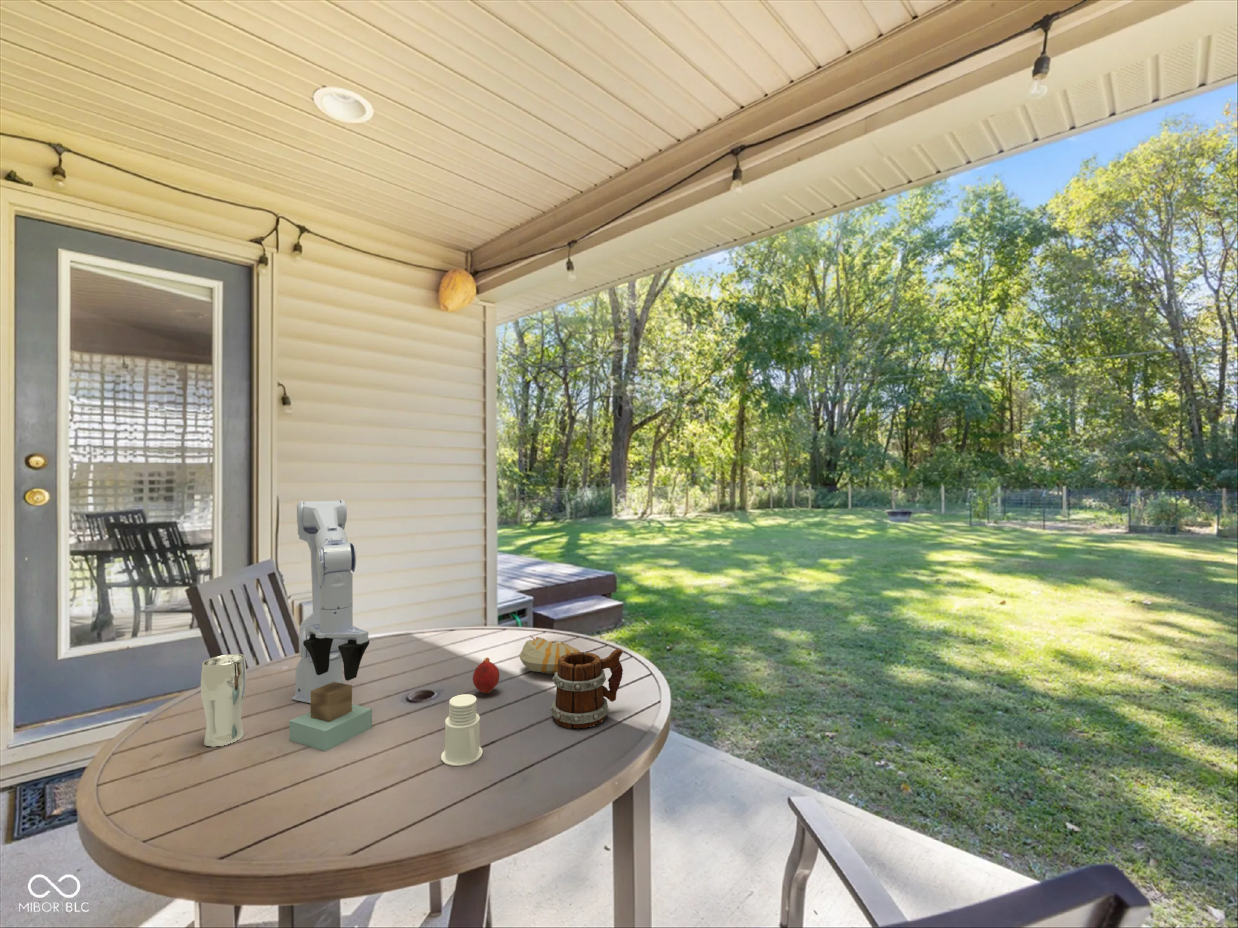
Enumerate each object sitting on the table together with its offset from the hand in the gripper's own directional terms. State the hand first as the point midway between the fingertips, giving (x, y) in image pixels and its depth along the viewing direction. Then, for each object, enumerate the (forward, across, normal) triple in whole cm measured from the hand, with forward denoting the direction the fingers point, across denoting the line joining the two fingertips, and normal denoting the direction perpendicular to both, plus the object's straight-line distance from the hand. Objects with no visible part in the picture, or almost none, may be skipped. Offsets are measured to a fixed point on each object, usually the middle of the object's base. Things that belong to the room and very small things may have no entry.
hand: (336, 675), depth 106 cm
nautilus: (+11, +22, +44) cm, 50 cm away
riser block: (+11, 0, -2) cm, 11 cm away
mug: (+10, +43, +23) cm, 50 cm away
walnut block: (+7, 0, -1) cm, 7 cm away
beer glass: (+11, -17, -11) cm, 22 cm away
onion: (+11, +17, +25) cm, 32 cm away
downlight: (+10, +29, +1) cm, 31 cm away
